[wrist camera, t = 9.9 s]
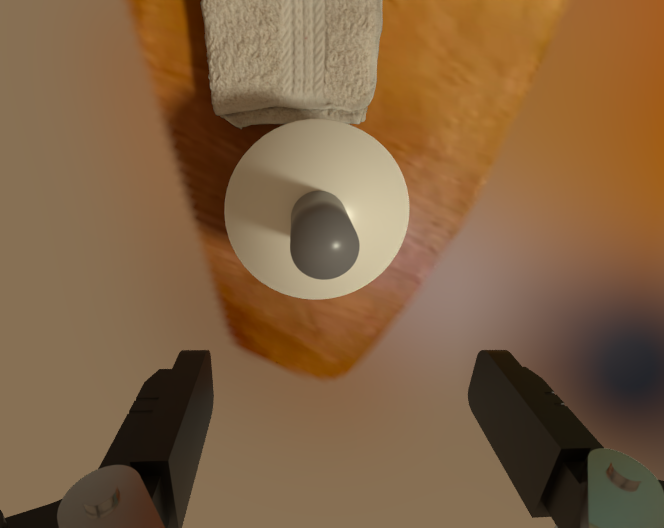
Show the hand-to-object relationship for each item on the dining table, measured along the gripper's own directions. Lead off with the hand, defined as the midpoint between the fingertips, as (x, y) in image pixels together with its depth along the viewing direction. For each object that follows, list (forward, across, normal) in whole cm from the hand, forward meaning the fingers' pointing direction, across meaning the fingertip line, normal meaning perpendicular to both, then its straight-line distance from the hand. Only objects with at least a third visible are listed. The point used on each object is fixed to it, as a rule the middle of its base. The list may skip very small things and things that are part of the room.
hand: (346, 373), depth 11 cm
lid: (+16, 0, 0) cm, 16 cm away
